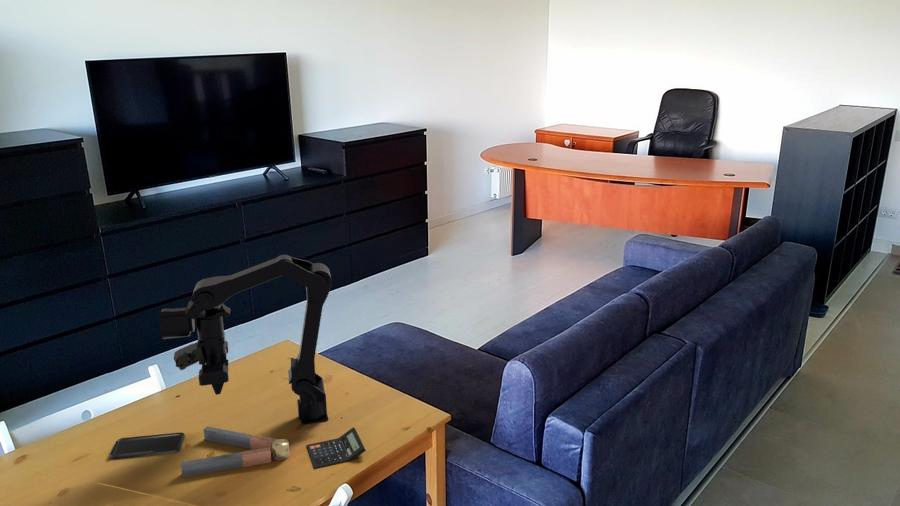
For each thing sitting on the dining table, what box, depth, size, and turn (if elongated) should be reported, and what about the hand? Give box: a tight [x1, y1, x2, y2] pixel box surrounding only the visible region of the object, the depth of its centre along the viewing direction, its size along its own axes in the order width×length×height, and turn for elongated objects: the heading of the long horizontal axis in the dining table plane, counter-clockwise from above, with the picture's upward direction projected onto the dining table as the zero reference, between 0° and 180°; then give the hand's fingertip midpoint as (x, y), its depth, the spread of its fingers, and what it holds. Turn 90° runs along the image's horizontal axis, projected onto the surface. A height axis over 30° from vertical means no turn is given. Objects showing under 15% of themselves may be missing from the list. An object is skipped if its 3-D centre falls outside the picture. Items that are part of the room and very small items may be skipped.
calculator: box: [306, 426, 366, 469], centre depth 152 cm, size 9×12×3 cm
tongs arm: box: [202, 425, 291, 461], centre depth 153 cm, size 22×4×3 cm, turn 73°
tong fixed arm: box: [180, 447, 272, 478], centre depth 146 cm, size 18×2×3 cm, turn 108°
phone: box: [109, 432, 185, 460], centre depth 154 cm, size 8×1×15 cm
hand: (218, 393), depth 159 cm, fingers closed
